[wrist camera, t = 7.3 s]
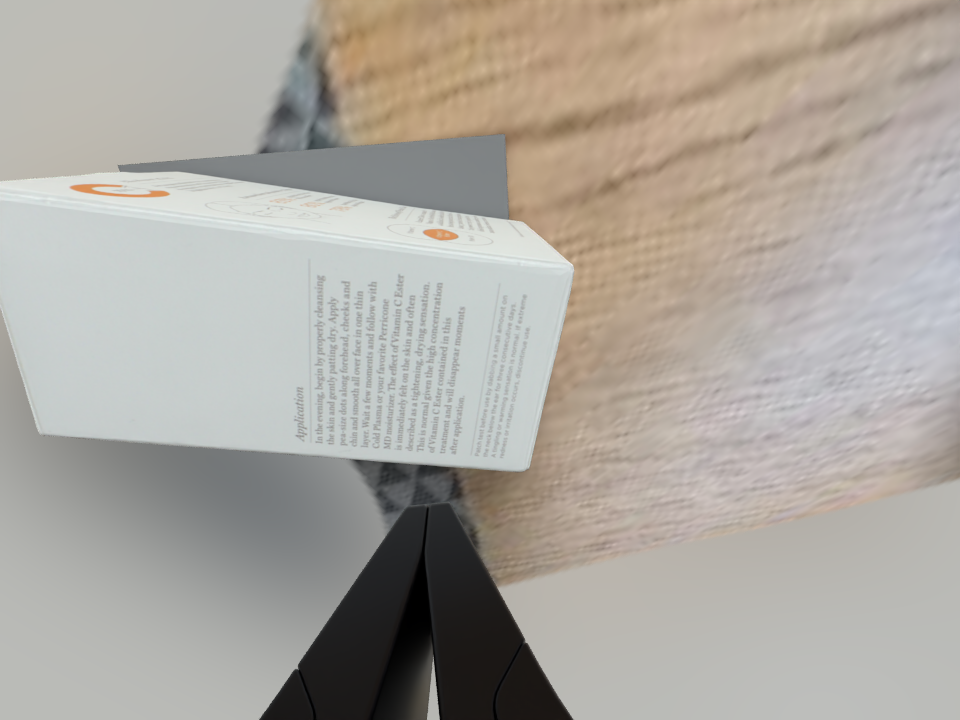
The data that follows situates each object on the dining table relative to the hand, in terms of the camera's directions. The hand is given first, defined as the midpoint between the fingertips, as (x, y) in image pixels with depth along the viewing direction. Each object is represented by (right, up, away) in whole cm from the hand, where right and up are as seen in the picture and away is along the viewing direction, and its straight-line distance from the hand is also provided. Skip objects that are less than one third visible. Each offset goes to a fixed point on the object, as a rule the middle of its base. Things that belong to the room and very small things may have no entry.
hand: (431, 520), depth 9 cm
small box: (+3, +4, +7) cm, 8 cm away
